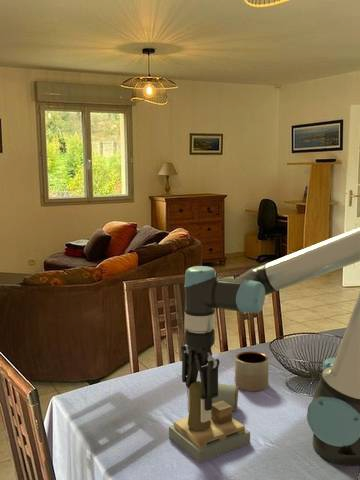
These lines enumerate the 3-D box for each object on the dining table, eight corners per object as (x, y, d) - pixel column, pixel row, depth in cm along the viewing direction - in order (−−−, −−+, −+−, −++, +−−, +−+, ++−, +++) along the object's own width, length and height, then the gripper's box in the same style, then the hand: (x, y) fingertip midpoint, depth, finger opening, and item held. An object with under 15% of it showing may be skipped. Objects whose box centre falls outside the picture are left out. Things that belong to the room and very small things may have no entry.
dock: (250, 442, 130) (250, 432, 130) (199, 462, 122) (199, 451, 121) (217, 420, 142) (217, 410, 141) (168, 436, 133) (168, 426, 133)
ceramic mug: (237, 415, 144) (237, 390, 143) (208, 413, 145) (209, 388, 144) (238, 399, 155) (238, 375, 154) (211, 397, 156) (212, 374, 155)
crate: (231, 420, 133) (232, 406, 132) (219, 424, 131) (219, 410, 130) (222, 414, 136) (222, 400, 135) (210, 418, 134) (210, 404, 133)
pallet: (244, 431, 130) (244, 426, 130) (200, 448, 123) (200, 442, 122) (216, 412, 140) (216, 407, 140) (174, 426, 133) (174, 421, 132)
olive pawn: (203, 432, 125) (204, 390, 124) (183, 425, 128) (183, 385, 127) (215, 421, 130) (215, 381, 129) (195, 415, 134) (195, 376, 132)
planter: (273, 382, 166) (274, 355, 164) (260, 395, 157) (260, 366, 155) (243, 375, 172) (243, 348, 170) (228, 387, 163) (229, 359, 161)
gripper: (234, 336, 120) (233, 427, 124) (191, 316, 135) (191, 398, 139) (209, 342, 116) (208, 436, 120) (167, 321, 131) (168, 405, 135)
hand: (199, 415), depth 129 cm, fingers closed on olive pawn, 5 cm apart
